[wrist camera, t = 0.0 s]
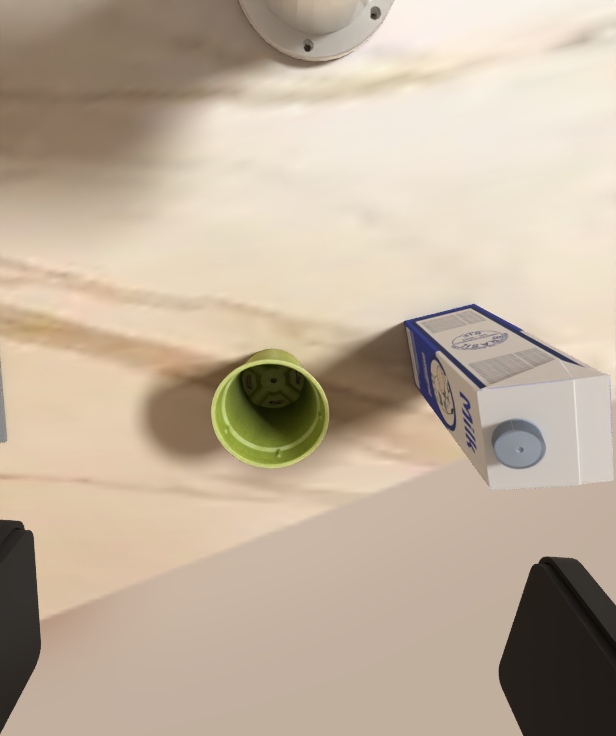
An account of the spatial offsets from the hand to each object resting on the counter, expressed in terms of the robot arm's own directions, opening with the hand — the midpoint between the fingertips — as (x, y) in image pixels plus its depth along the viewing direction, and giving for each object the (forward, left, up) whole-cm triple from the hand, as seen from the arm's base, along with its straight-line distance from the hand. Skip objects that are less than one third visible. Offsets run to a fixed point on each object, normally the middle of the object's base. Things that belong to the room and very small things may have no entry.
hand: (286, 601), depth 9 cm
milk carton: (+4, +16, -37) cm, 41 cm away
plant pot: (+9, 0, -37) cm, 38 cm away
